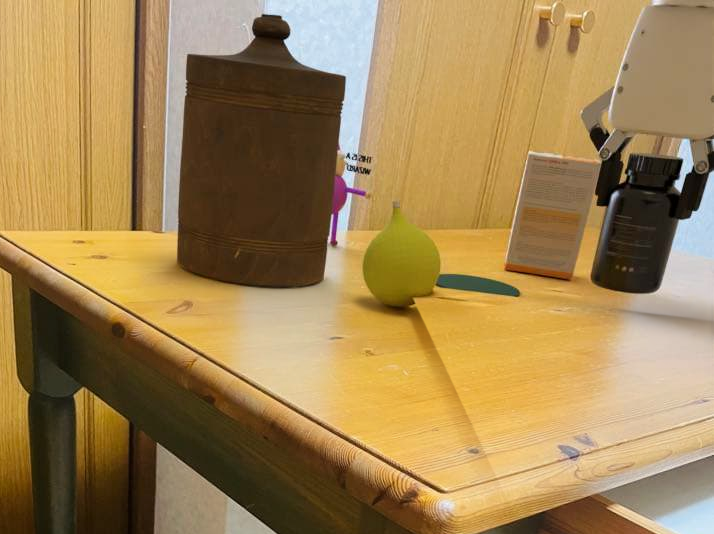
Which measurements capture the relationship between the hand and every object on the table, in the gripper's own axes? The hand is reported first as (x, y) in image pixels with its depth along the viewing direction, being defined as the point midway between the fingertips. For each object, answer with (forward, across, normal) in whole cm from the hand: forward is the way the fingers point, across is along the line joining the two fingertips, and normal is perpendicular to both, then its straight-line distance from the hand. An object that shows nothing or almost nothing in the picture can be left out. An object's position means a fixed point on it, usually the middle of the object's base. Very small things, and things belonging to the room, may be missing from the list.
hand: (643, 210), depth 80 cm
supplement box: (+10, +15, -14) cm, 23 cm away
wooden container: (+9, +31, +21) cm, 38 cm away
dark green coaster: (+10, +15, +2) cm, 18 cm away
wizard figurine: (+10, +36, +1) cm, 37 cm away
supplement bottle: (+7, 0, 0) cm, 7 cm away
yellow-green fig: (+10, +15, +19) cm, 26 cm away
